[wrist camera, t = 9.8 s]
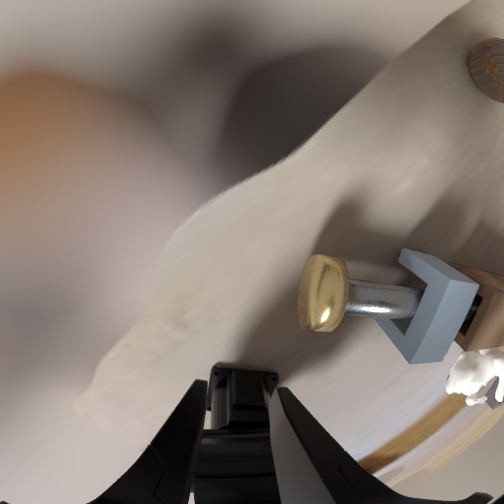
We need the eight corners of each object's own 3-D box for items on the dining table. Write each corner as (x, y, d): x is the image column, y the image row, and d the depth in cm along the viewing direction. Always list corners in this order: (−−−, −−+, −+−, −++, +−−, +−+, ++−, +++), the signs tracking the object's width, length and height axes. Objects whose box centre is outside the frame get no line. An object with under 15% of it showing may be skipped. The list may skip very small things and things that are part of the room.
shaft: (476, 276, 22) (506, 297, 17) (458, 318, 24) (485, 342, 19) (310, 244, 19) (334, 272, 15) (293, 306, 21) (308, 346, 16)
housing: (511, 278, 25) (544, 299, 18) (494, 316, 27) (524, 341, 20) (448, 262, 23) (494, 292, 16) (427, 314, 25) (465, 351, 18)
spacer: (375, 319, 23) (409, 364, 17) (402, 247, 21) (450, 279, 15) (406, 321, 24) (441, 361, 18) (433, 255, 22) (479, 285, 15)
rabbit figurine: (487, 314, 26) (530, 353, 17) (500, 329, 28) (536, 362, 19) (434, 382, 30) (466, 428, 21) (453, 388, 31) (482, 427, 22)
